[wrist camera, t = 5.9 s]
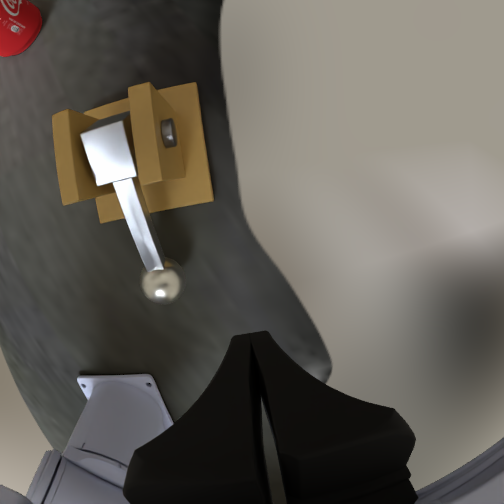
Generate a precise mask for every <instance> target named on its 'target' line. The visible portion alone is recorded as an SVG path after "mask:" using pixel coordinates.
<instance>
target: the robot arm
mask: <svg viewBox="0 0 504 504" xmlns="http://www.w3.org/2000/svg"><path fill="white" fill-rule="evenodd" d="M77 381H78V383H79V385H80V387H81V389H82V390H83V392H84V394H85V396H86V397H87V399H88V402H87V404H86V406H85V408H84V410H83V412H82V414H81V416H80V418H79V420H78V422H77V424H76V426H75V428H74V431H73V433H72V435H71V437H70V439H69V442H68V444H67V446H66V448H65V450H64V451H63V453H62V455H61V453H60V452H59V451H57V450H56V449H53V450H52V451H51V450H50V451H46V452H45V454H44V456H43V458H42V460H41V463H40V465H39V467H38V469H37V471H36V474H35V476H34V478H33V480H32V483H31V485H30V487H29V489H28V492H27V494H26V497H25V496H23V495H22V494H20V493H18V492H16V491H14V490H12V489H9V488H7V487H5V486H3V485H0V504H273V500H272V495H271V489H270V483H269V478H268V472H267V466H266V460H265V454H264V445H263V429H262V408H261V398H262V401H263V405H264V408H265V411H266V415H267V418H268V421H269V425H270V428H271V431H272V435H273V438H274V442H275V446H276V450H277V455H278V460H279V466H280V471H281V476H282V481H283V486H284V491H285V497H286V502H287V504H504V438H502V439H501V440H500V441H498V442H497V443H496V444H494V445H493V446H492V447H490V448H489V449H487V450H486V451H485V452H483V453H482V454H480V455H479V456H477V457H476V458H474V459H473V460H471V461H470V462H468V463H467V464H465V465H463V466H462V467H460V468H458V469H457V470H455V471H453V472H452V473H450V474H448V475H446V476H445V477H443V478H441V479H439V480H437V481H435V482H434V483H432V484H430V485H428V486H426V487H424V488H422V489H420V490H418V491H415V490H414V488H413V486H412V484H411V482H410V481H409V478H410V477H411V473H410V471H409V469H408V468H407V466H406V464H407V462H408V460H409V457H410V455H411V453H412V451H413V448H414V445H415V441H416V438H415V435H414V433H413V432H412V430H411V428H410V427H409V425H408V424H407V423H406V421H405V420H404V419H403V418H402V417H401V416H400V415H399V413H397V412H396V410H395V409H394V408H389V407H385V406H381V405H377V404H373V403H369V402H365V401H362V400H359V399H357V398H354V397H351V396H348V395H346V394H344V393H342V392H340V391H338V390H335V389H333V388H331V387H329V386H327V385H326V384H324V383H323V382H321V381H319V380H318V379H316V378H315V377H313V376H312V375H310V374H309V373H308V372H306V371H305V370H304V369H303V368H301V367H300V366H299V365H298V364H297V363H295V362H294V361H293V360H292V359H291V358H290V357H289V356H288V355H287V354H286V353H285V352H284V351H283V350H282V349H281V348H280V347H279V345H278V344H277V343H276V342H275V341H274V339H273V338H272V336H271V335H270V333H269V332H267V331H260V332H254V333H248V334H242V335H235V336H233V337H232V339H231V342H230V345H229V348H228V350H227V352H226V355H225V357H224V359H223V361H222V363H221V365H220V367H219V369H218V371H217V372H216V374H215V376H214V377H213V379H212V380H211V382H210V384H209V385H208V387H207V388H206V389H205V391H204V392H203V393H202V395H201V396H200V397H199V399H198V400H197V401H196V402H195V403H194V404H193V405H192V407H191V408H190V409H189V410H188V411H187V412H186V413H185V414H184V415H183V416H182V417H181V418H180V419H179V420H178V421H176V422H175V423H173V421H172V419H171V417H170V415H169V413H168V410H167V408H166V406H165V404H164V402H163V399H162V397H161V395H160V393H159V390H158V388H157V386H156V384H155V381H154V379H153V377H152V376H151V375H149V374H133V375H99V376H79V377H78V378H77ZM148 383H151V384H148ZM60 455H61V456H60Z"/></svg>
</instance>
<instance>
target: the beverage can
mask: <svg viewBox="0 0 504 504" xmlns="http://www.w3.org/2000/svg"><path fill="white" fill-rule="evenodd" d="M42 23H43V20H42V17H41V15H40V10H39V9H38V8H37V7H36V6H35V5H33V4H32V3H31V2H29V1H28V0H0V56H3V57H7V56H11V55H12V56H15V55H18V54H20V53H22V52H24V51H25V50H26V49H27V48H28V47H30V45H31V44H32V43H33V42H34V41H35V39H36V38H37V36H38V34H39V33H40V30H41V28H42Z"/></svg>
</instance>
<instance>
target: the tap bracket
mask: <svg viewBox="0 0 504 504" xmlns="http://www.w3.org/2000/svg"><path fill="white" fill-rule="evenodd" d="M128 96H129V98H126V99H122V100H119V101H116V102H113V103H109V104H106V105H103V106H100V107H97V108H94V109H92V110H89V111H86V112H84V114H82V113H79V112H76V111H73V110H71V109H66V110H63V111H61V112H59V113H56V114H54V115H52V126H53V139H54V149H55V158H56V166H57V173H58V180H59V186H60V192H61V198H62V203H63V205H64V206H65V205H69V204H72V203H76V202H80V201H84V200H88V199H92V198H95V200H96V205H97V210H98V215H99V220H100V223H105V222H110V221H114V220H119V219H123V218H125V216H124V213H123V211H122V208H121V205H120V203H119V200H118V197H117V194H116V191H115V189H114V186H113V183H109V184H106V185H102V186H97V185H96V182H95V179H94V176H93V174H92V171H91V168H90V165H89V162H88V159H87V156H86V153H85V150H84V147H83V143H82V140H81V137H80V134H81V133H82V132H83V131H84V130H86V129H87V128H88V127H89V126H91V125H92V124H93V123H95V122H96V121H97V120H100V119H104V118H107V117H110V116H113V115H116V114H120V113H123V112H127V111H130V116H131V124H132V133H133V140H134V148H135V155H136V161H137V168H138V174H139V175H138V179H139V182H140V185H141V188H142V192H143V195H144V198H145V201H146V204H147V207H148V210H149V213H152V212H157V211H162V210H167V209H173V208H178V207H183V206H189V205H194V204H200V203H206V202H211V201H214V195H213V189H212V182H211V176H210V170H209V163H208V157H207V150H206V144H205V137H204V130H203V123H202V116H201V109H200V102H199V95H198V88H197V84H196V82H193V83H188V84H183V85H178V86H173V87H169V88H164V89H160V90H156V89H155V88H154V86H153V85H152V84H151V83H150V82H146V83H143V84H139V85H135V86H132V87H129V88H128Z"/></svg>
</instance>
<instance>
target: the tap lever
mask: <svg viewBox="0 0 504 504" xmlns="http://www.w3.org/2000/svg"><path fill="white" fill-rule="evenodd" d="M80 137H81V140H82V143H83V147H84V150H85V153H86V156H87V159H88V162H89V165H90V168H91V171H92V174H93V176H94V179H95V182H96V185H97V186H102V185H106V184H109V183H113V186H114V189H115V191H116V194H117V197H118V200H119V203H120V205H121V208H122V211H123V213H124V216H125V219H126V221H127V224H128V227H129V229H130V232H131V234H132V237H133V239H134V242H135V244H136V246H137V249H138V251H139V254H140V256H141V258H142V261H143V263H144V265H145V266H144V268H143V269H142V271H141V274H140V286H141V290H142V292H143V293H144V295H145V296H146V297H147V298H148V299H149V300H150V301H152V302H154V303H157V304H170V303H172V302H174V301H176V300H177V299H179V298H180V296H181V295H182V294H183V292H184V290H185V286H186V276H185V273H184V270H183V268H182V267H181V266H180V265H179V264H178V263H177V262H176V261H175V260H173V259H170V258H166V257H165V256H164V254H163V251H162V248H161V245H160V242H159V240H158V237H157V234H156V231H155V228H154V225H153V222H152V219H151V216H150V213H149V210H148V207H147V204H146V201H145V198H144V195H143V192H142V188H141V185H140V182H139V179H138V175H139V174H138V168H137V161H136V155H135V148H134V140H133V133H132V124H131V116H130V111H127V112H123V113H120V114H116V115H113V116H110V117H107V118H104V119H100V120H97V121H96V122H95V123H93V124H92V125H91V126H89V127H88V128H87V129H86V130H84V131H83V132H82V133H81V134H80Z"/></svg>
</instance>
